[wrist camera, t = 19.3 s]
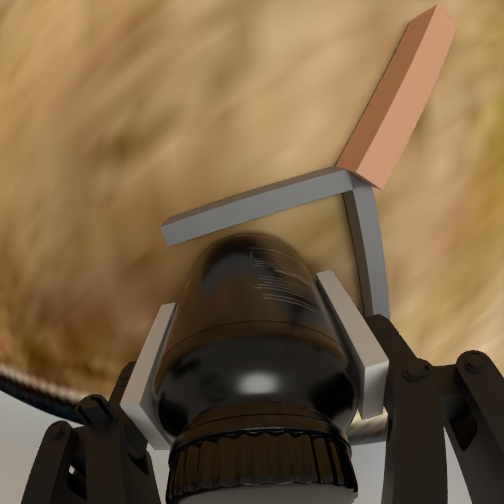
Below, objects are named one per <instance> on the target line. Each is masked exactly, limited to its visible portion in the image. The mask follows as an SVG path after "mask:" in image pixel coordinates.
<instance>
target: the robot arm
mask: <svg viewBox="0 0 504 504" xmlns="http://www.w3.org/2000/svg"><path fill="white" fill-rule="evenodd" d="M316 277H317V284H318V287H319V289H320V291H321V293H322V295H323V298H324V300H325V302H326V304H327V306H328V308H329V310H330V312H331V314H332V316H333V319H334V321H335V323H336V325H337V327H338V329H339V331H340V334H341V336H342V338H343V340H344V342H345V344H346V347H347V349H348V351H349V353H350V355H351V358H352V360H353V362H354V365H355V368H356V371H357V374H358V377H359V381H360V399H359V404H358V411H359V413H360V416H361V419H362V420H365V419H368V418H372V417H375V416H378V415H381V414H382V413H383V407H385V409H386V411H387V413H388V418H387V423H386V428H385V432H387V433H386V457H385V470H384V483H383V491H382V500H381V504H447V501H448V500H447V499H448V496H447V495H448V490H447V463H446V448H445V438H444V428H443V425H444V427H445V429H446V432H447V434H448V437H449V439H450V442H451V444H452V447H453V449H454V452H455V455H456V457H457V460H458V463H459V465H460V468H461V471H462V474H463V476H464V479H465V482H466V485H467V488H468V492H469V495H470V497H471V501H472V504H504V378H503V376H502V375H501V373H500V372H499V370H498V369H497V368H496V366H495V365H494V363H493V362H492V361H491V359H490V358H489V357H488V356H487V355H486V354H485V353H483V352H480V351H475V350H471V351H466V352H464V353H462V354H461V355H460V356H459V357H458V359H457V362H456V364H452V365H445V366H432V365H431V364H430V363H429V362H428V361H426V360H423V359H420V358H417V357H416V356H415V355H414V353H413V352H412V350H411V349H410V348H409V346H408V345H407V343H406V342H405V341H404V339H403V338H402V337H401V335H399V332H398V331H397V330H396V328H394V326H393V324H392V323H391V322H390V320H389V319H388V318H386V317H384V316H382V315H380V314H376V315H373V316H369V317H365V318H363V317H362V316H361V314H360V312H359V311H358V309H357V308H356V306H355V305H354V303H353V301H352V300H351V298H350V297H349V295H348V294H347V292H346V291H345V289H344V288H343V286H342V285H341V283H340V282H339V280H338V279H337V277H336V276H335V274H334V273H333V271H332V270H327V271H323V272H319V273H316ZM176 308H177V304H176V302H174V303H169V304H164V305H161V307H160V310H159V312H158V314H157V316H156V319H155V321H154V323H153V325H152V328H151V330H150V332H149V334H148V337H147V339H146V341H145V344H144V346H143V348H142V351H141V353H140V355H139V358H138V360H137V361H134V362H129V363H128V364H127V365H126V366H125V367H124V369H123V370H122V372H121V374H120V376H119V378H118V379H119V380H117V383H116V385H115V386H116V387H114V390H113V392H112V394H111V397H110V399H109V401H108V402H107V400H106V399H105V398H104V397H103V396H102V395H99V394H93V395H89V396H87V397H85V398H83V399H82V400H81V401H80V402H79V403H78V404H77V406H76V408H75V412H76V413H77V415H78V416H79V417H80V418H81V419H82V421H83V422H84V423H85V424H86V426H82V427H77V428H72V427H71V425H70V424H69V423H68V422H66V421H62V420H61V421H57V422H55V423H53V424H51V425H50V426H49V427H48V429H47V430H46V432H45V435H44V437H43V440H42V442H41V445H40V447H39V450H38V453H37V456H36V458H35V462H34V464H33V467H32V470H31V473H30V475H29V479H28V482H27V485H26V488H25V491H24V495H23V498H22V501H21V504H161V501H160V497H159V493H158V489H157V484H156V480H155V475H154V470H153V465H152V460H151V456H150V454H149V452H148V451H147V450H146V448H147V444H148V442H149V444H150V445H151V446H152V447H153V448H154V449H155V450H170V449H171V445H172V442H171V441H170V440H169V439H168V438H167V436H166V435H165V434H164V433H163V431H162V429H161V428H160V426H159V424H158V422H157V420H156V417H155V415H154V412H153V408H152V403H151V388H152V383H153V379H154V374H155V371H156V367H157V364H158V361H159V358H160V355H161V352H162V349H163V346H164V343H165V340H166V337H167V334H168V331H169V328H170V325H171V322H172V319H173V316H174V314H175V311H176ZM70 466H72V467H73V468H74V469H75V470H74V473H73V474H71V473H70V472H69V468H70Z"/></svg>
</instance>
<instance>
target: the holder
mask: <svg viewBox="0 0 504 504" xmlns="http://www.w3.org/2000/svg"><path fill="white" fill-rule="evenodd" d="M457 25H458V23H457V22H456V21H455V20H454V19H453V18H452V17H451V16H450V15H448V14H447V13H446V12H445V11H444V10H443V9H442V8H440V7H439V6H438V5H436V6H434V7H432V8H431V9H429V10H427V11H426V12H424V13H422V14H421V15H419V16H417V17H416V18H414V19H412V20H411V21H410V23H409V25H408V27H407V30H406V32H405V34H404V36H403V38H402V40H401V42H400V44H399V46H398V48H397V50H396V52H395V54H394V56H393V58H392V60H391V62H390V64H389V66H388V68H387V70H386V72H385V74H384V76H383V77H382V79H381V81H380V83H379V85H378V87H377V89H376V91H375V93H374V95H373V97H372V99H371V101H370V102H369V104H368V106H367V108H366V110H365V112H364V114H363V116H362V118H361V120H360V121H359V123H358V125H357V127H356V129H355V131H354V133H353V134H352V136H351V138H350V140H349V142H348V144H347V145H346V147H345V149H344V151H343V153H342V155H341V156H340V158H339V160H338V162H337V164H336V166H334V167H331V168H327V169H323V170H319V171H316V172H312V173H309V174H305V175H302V176H298V177H295V178H291V179H288V180H284V181H281V182H277V183H274V184H271V185H267V186H264V187H261V188H258V189H254V190H251V191H248V192H245V193H242V194H239V195H235V196H232V197H229V198H226V199H223V200H220V201H217V202H214V203H211V204H208V205H205V206H202V207H199V208H196V209H193V210H191V211H188V212H185V213H182V214H179V215H176V216H174V217H171V218H169V219H168V220H167V221H166V222H165V223H164V224H163V225H162V226H161V227H160V229H161V232H162V234H163V237H164V239H165V242H166V244H167V246H168V247H169V246H172V245H175V244H178V243H181V242H184V241H187V240H190V239H193V238H196V237H199V236H202V235H205V234H208V233H211V232H214V231H217V230H220V229H224V228H227V227H230V226H233V225H236V224H239V223H242V222H246V221H249V220H252V219H255V218H259V217H262V216H265V215H268V214H272V213H275V212H278V211H281V210H285V209H288V208H291V207H295V206H298V205H301V204H305V203H308V202H312V201H315V200H318V199H322V198H325V197H329V196H332V195H336V194H339V193H343V196H344V200H345V204H346V209H347V213H348V218H349V223H350V228H351V233H352V238H353V243H354V248H355V254H356V259H357V265H358V271H359V277H360V283H361V290H362V297H363V304H364V311H365V317H369V316H373V315H376V314H380V315H382V316H384V317H386V318H388V319H389V320H390V312H389V299H388V288H387V278H386V269H385V261H384V253H383V246H382V239H381V233H380V227H379V221H378V215H377V209H376V204H375V199H374V194H373V189H372V186H373V187H375V188H378V189H381V190H383V188H384V186H385V185H386V183H387V181H388V179H389V177H390V175H391V174H392V172H393V170H394V168H395V166H396V164H397V162H398V160H399V158H400V156H401V154H402V152H403V150H404V148H405V146H406V144H407V142H408V140H409V138H410V136H411V134H412V132H413V130H414V128H415V126H416V124H417V122H418V120H419V118H420V116H421V113H422V111H423V109H424V107H425V105H426V102H427V100H428V98H429V96H430V93H431V91H432V89H433V87H434V84H435V82H436V80H437V77H438V75H439V72H440V70H441V67H442V65H443V62H444V60H445V57H446V55H447V52H448V50H449V47H450V44H451V42H452V39H453V36H454V34H455V31H456V28H457Z"/></svg>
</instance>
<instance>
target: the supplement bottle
mask: <svg viewBox="0 0 504 504" xmlns="http://www.w3.org/2000/svg"><path fill="white" fill-rule="evenodd" d="M359 399H360V381H359V377H358V374H357V371H356V368H355V365H354V362H353V360H352V358H351V355H350V353H349V351H348V349H347V347H346V344H345V342H344V340H343V338H342V336H341V334H340V331H339V329H338V327H337V325H336V323H335V321H334V319H333V316H332V314H331V312H330V310H329V308H328V306H327V304H326V302H325V300H324V298H323V295H322V293H321V291H320V289H319V287H318V285H317V283H316V281H315V279H314V277H313V275H312V273H311V271H310V270H309V268H308V266H307V264H306V263H305V261H304V260H303V258H302V257H301V256H300V255H299V254H298V253H297V252H296V251H295V250H294V249H293V248H291V247H290V246H289V245H287V244H285V243H284V242H282V241H280V240H278V239H275V238H272V237H268V236H264V235H258V234H244V235H237V236H233V237H229V238H226V239H224V240H221V241H219V242H217V243H216V244H214V245H212V246H211V247H209V248H208V249H207V250H206V251H205V252H203V253H202V255H201V256H200V257H199V258H198V259H197V261H196V262H195V264H194V265H193V267H192V269H191V271H190V273H189V275H188V278H187V280H186V283H185V285H184V288H183V291H182V294H181V297H180V299H179V302H178V305H177V308H176V311H175V314H174V316H173V319H172V322H171V325H170V328H169V331H168V334H167V337H166V340H165V343H164V346H163V349H162V352H161V355H160V358H159V361H158V364H157V367H156V371H155V374H154V379H153V383H152V388H151V403H152V408H153V412H154V415H155V417H156V420H157V422H158V424H159V426H160V428H161V429H162V431H163V433H164V434H165V435H166V436H167V438H168V439H169V440H170V441H171V442H172V445H171V449H170V455H169V461H168V464H169V468H170V471H169V476H168V483H167V490H166V499H165V500H166V504H351V503H353V502H354V499H355V498H357V497H358V484H357V480H356V477H355V473H354V469H353V466H352V463H351V457H352V450H351V447H350V444H349V441H348V438H347V436H346V434H345V432H346V430H347V429H348V427H349V426H350V424H351V423H352V421H353V419H354V416H355V414H356V411H357V408H358V404H359Z"/></svg>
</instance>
